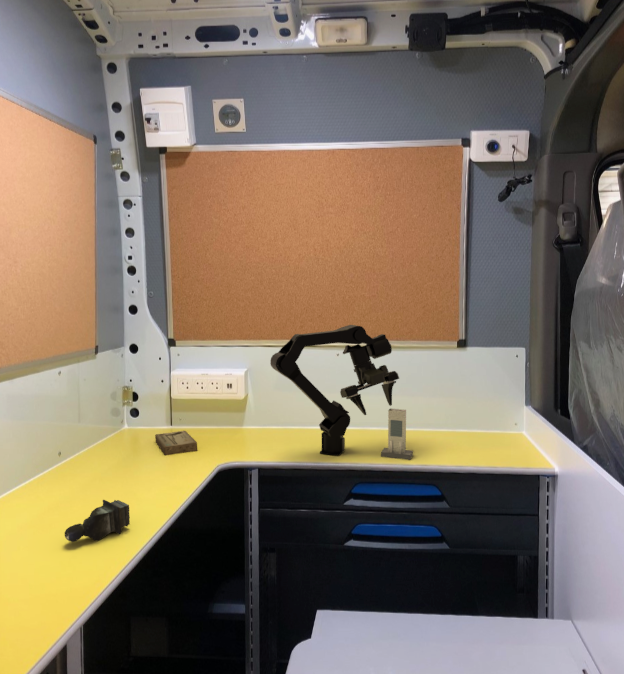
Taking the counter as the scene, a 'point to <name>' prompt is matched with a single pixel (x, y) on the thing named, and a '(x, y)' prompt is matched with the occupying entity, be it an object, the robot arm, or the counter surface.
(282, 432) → the counter surface
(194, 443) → the box
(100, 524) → the dark statue fragment
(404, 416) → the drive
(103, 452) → the counter surface
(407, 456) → the dark grey pegged block
